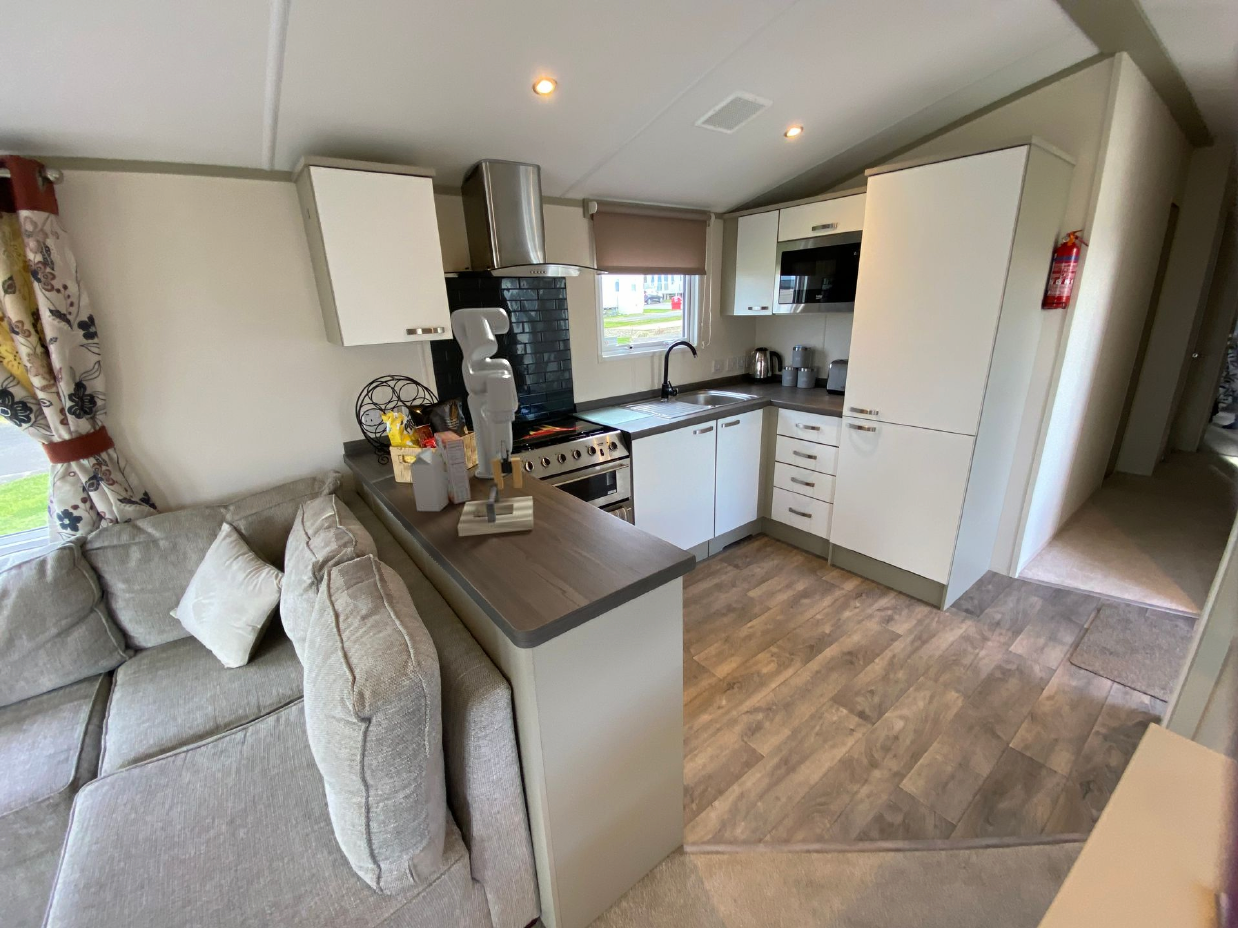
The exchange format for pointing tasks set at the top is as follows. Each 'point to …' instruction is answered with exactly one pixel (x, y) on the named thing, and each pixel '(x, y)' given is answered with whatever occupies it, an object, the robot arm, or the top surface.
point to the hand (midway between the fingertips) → (507, 471)
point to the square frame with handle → (493, 507)
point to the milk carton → (429, 481)
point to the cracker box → (454, 466)
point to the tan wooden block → (516, 472)
